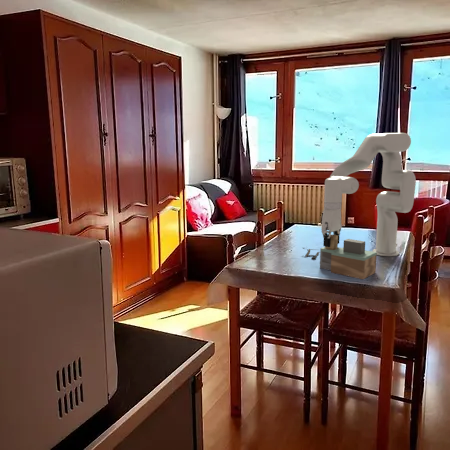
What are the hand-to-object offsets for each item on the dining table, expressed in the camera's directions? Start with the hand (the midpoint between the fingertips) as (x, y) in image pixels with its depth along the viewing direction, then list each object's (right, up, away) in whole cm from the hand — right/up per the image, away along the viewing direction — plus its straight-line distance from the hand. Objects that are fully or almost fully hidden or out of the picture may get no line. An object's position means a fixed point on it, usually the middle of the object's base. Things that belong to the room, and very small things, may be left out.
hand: (331, 244), depth 194 cm
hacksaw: (-5, -6, +28) cm, 29 cm away
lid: (+6, -4, -4) cm, 8 cm away
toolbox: (+6, -11, -3) cm, 13 cm away
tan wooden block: (0, -8, +1) cm, 8 cm away
